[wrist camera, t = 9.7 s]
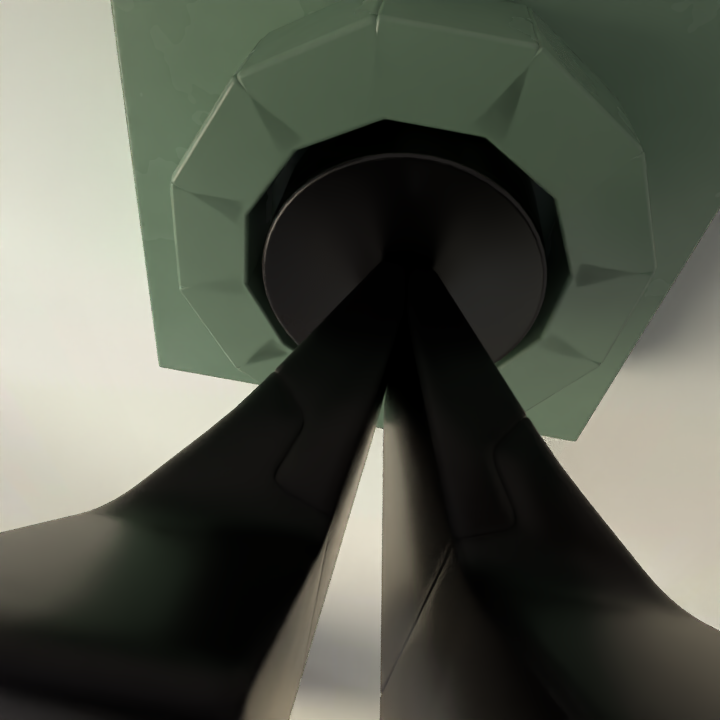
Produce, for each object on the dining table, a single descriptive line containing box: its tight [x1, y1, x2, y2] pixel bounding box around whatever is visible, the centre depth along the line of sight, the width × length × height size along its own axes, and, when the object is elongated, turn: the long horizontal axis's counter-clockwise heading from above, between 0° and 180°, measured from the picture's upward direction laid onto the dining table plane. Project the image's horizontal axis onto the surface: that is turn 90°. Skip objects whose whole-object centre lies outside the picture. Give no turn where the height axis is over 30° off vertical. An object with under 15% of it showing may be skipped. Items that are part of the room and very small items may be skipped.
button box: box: [111, 0, 720, 441], centre depth 11 cm, size 10×10×4 cm
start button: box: [261, 119, 548, 364], centre depth 10 cm, size 4×4×2 cm
